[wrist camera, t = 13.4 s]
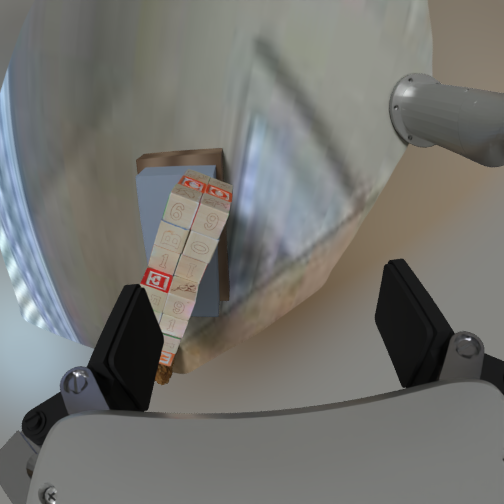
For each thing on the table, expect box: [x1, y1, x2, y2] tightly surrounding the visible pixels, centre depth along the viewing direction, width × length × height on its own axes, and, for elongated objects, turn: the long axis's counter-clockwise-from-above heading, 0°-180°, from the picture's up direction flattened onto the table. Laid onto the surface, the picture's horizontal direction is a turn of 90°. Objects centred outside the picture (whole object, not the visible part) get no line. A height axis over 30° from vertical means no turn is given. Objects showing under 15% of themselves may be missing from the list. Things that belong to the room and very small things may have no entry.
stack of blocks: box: [140, 169, 233, 366], centre depth 35 cm, size 21×6×12 cm, turn 156°
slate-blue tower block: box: [136, 165, 220, 317], centre depth 43 cm, size 10×23×4 cm, turn 179°
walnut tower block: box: [136, 148, 230, 301], centre depth 47 cm, size 12×25×4 cm, turn 1°
